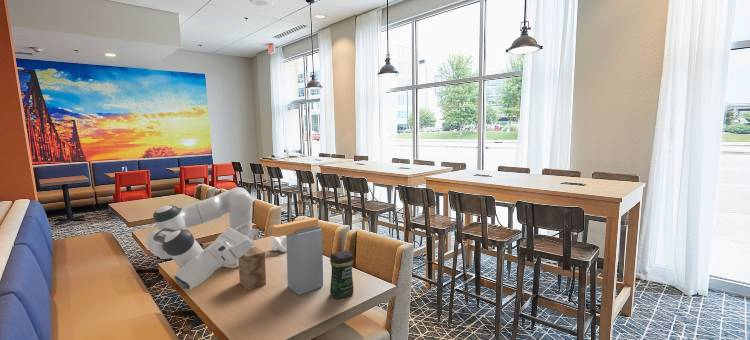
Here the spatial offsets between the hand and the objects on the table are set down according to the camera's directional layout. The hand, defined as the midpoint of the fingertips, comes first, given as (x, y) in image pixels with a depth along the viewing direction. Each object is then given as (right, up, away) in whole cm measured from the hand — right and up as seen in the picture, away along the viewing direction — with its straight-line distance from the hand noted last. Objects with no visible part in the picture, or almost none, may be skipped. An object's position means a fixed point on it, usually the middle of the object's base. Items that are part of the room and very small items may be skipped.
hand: (251, 227), depth 135 cm
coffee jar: (+34, -30, +12) cm, 47 cm away
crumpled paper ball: (-6, -24, +66) cm, 70 cm away
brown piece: (-7, -29, +22) cm, 37 cm away
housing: (+17, -29, +19) cm, 39 cm away
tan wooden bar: (+14, -4, +13) cm, 20 cm away
